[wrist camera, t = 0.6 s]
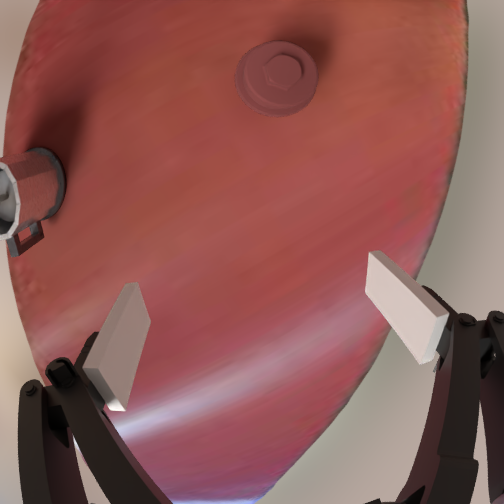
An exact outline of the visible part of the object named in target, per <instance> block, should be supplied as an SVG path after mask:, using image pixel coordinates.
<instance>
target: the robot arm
mask: <svg viewBox="0 0 504 504" xmlns="http://www.w3.org/2000/svg"><path fill="white" fill-rule="evenodd" d="M365 293H366V294H367V296H368V297H369V298H370V299H371V301H372V302H373V303H374V304H375V306H376V307H377V308H378V309H379V311H380V312H381V313H382V315H383V316H384V317H385V318H386V320H387V321H388V322H389V324H390V325H391V326H392V328H393V329H394V330H395V331H396V333H397V334H398V335H399V337H400V338H401V339H402V341H403V342H404V343H405V345H406V346H407V347H408V349H409V350H410V352H411V353H412V354H413V356H414V357H415V359H416V360H417V361H418V363H419V364H420V365H421V364H423V363H426V362H428V361H431V360H432V359H433V357H434V354H435V352H436V351H437V352H438V353H439V355H440V357H439V359H438V361H437V364H436V366H435V368H434V370H433V372H435V371H436V376H435V383H434V388H433V393H432V399H431V404H430V407H429V412H428V416H427V420H426V424H425V428H424V432H423V435H422V439H421V442H420V446H419V449H418V452H417V455H416V458H415V461H414V464H413V467H412V470H411V472H410V475H409V478H408V481H407V483H406V485H405V486H404V488H403V489H402V491H401V492H400V494H399V496H398V497H397V499H396V501H395V502H381V501H380V498H379V499H376V500H373V501H371V502H368V503H365V504H470V502H471V498H472V494H473V491H474V487H475V482H476V477H477V473H478V466H479V464H478V461H477V460H475V459H474V458H473V454H474V448H475V442H476V434H477V426H478V416H479V402H480V403H481V408H482V415H483V421H484V429H485V436H486V447H487V461H488V487H489V497H490V503H491V504H504V313H502V312H500V311H491V312H489V315H488V317H487V319H486V320H482V321H477V320H476V319H475V318H474V317H473V316H471V315H469V314H466V313H460V314H458V313H457V312H456V311H455V310H453V309H452V308H451V307H450V306H449V305H448V304H447V303H446V302H445V301H444V300H442V298H441V297H440V296H438V295H437V294H436V293H435V292H434V291H433V290H432V289H430V288H428V287H426V286H420V285H419V284H418V283H417V282H416V281H415V280H414V279H413V278H412V277H410V276H409V275H408V274H407V273H406V272H405V271H404V270H403V269H401V268H400V267H399V266H398V265H397V264H396V263H395V262H393V261H392V260H391V259H390V258H389V257H388V256H386V255H385V254H384V253H383V252H382V251H380V250H378V251H372V252H369V259H368V270H367V280H366V288H365ZM150 323H151V321H150V318H149V315H148V312H147V309H146V306H145V303H144V300H143V297H142V294H141V291H140V288H139V284H138V282H134V283H126V284H125V285H124V287H123V289H122V291H121V293H120V294H119V296H118V298H117V300H116V302H115V303H114V305H113V307H112V309H111V311H110V313H109V315H108V316H107V318H106V320H105V322H104V324H103V326H102V328H101V330H100V332H94V333H93V334H92V335H91V336H90V337H89V338H88V339H87V340H86V342H85V344H84V347H83V348H82V350H81V353H80V354H79V356H78V358H77V360H76V362H75V364H74V366H73V364H72V363H71V361H70V360H69V359H68V358H65V357H60V358H57V359H55V360H53V361H52V362H50V364H49V365H48V366H47V368H46V370H45V375H46V376H47V377H48V379H49V380H50V382H51V383H52V385H51V386H46V387H43V385H42V384H41V383H40V381H38V380H35V379H34V380H30V381H28V382H26V383H25V384H24V385H23V386H22V388H21V390H20V397H19V412H18V458H19V459H18V460H19V473H20V483H21V491H22V498H23V504H88V501H87V498H86V494H85V491H84V487H83V483H82V479H81V475H80V471H79V466H78V462H77V457H76V452H75V446H74V440H73V435H74V438H75V440H76V442H77V444H78V446H79V448H80V451H81V453H82V455H83V457H84V459H85V461H86V462H87V464H88V466H89V468H90V470H91V472H92V474H93V475H94V477H95V479H96V481H97V482H98V484H99V486H100V487H101V489H102V491H103V492H104V494H105V496H106V497H107V498H108V500H109V502H110V503H111V504H173V503H172V502H171V501H170V500H169V499H168V498H167V497H166V495H165V494H164V493H163V492H162V491H161V490H160V488H159V487H158V486H157V485H156V484H155V483H154V481H153V480H152V479H151V478H150V476H149V475H148V474H147V473H146V471H145V470H144V469H143V467H142V466H141V465H140V463H139V462H138V461H137V459H136V458H135V457H134V455H133V454H132V453H131V451H130V450H129V448H128V447H127V445H126V444H125V442H124V441H123V439H122V438H121V436H120V435H119V433H118V432H117V430H116V429H115V427H114V426H113V424H112V422H111V421H110V419H109V417H108V416H107V414H106V413H105V411H104V410H103V408H104V405H105V403H106V404H107V406H108V407H109V409H110V410H114V411H126V408H127V404H128V400H129V396H130V392H131V388H132V384H133V381H134V377H135V373H136V370H137V366H138V363H139V359H140V356H141V353H142V349H143V346H144V343H145V339H146V336H147V333H148V330H149V326H150ZM494 354H495V356H494ZM436 369H437V370H436ZM72 433H73V434H72Z"/></svg>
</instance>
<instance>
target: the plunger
mask: <svg viewBox="0 0 504 504" xmlns="http://www.w3.org/2000/svg"><path fill="white" fill-rule="evenodd" d="M16 205H17V203H16V198H15V192H14V187H13V183H12V182H11V180H10V178H9V177H8V175H7V173H6V171H5V170H3V171H1V172H0V217H1V218H2V219H3V220H5V221H8V222H11V221H14V220H15V213H16Z"/></svg>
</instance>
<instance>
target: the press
mask: <svg viewBox="0 0 504 504" xmlns="http://www.w3.org/2000/svg"><path fill="white" fill-rule="evenodd" d="M3 170H5V171H6V173H7V175H8V177H9V178H10V180H11V182H12V183H13V187H14V192H15V198H16V203H17V205H16V213H15V220H14V221H11V222H8V221H5V220H3V219H2V218H1V217H0V240H5V239H6V241H7V244H8V248H9V251H10V254H11V257H16V256H20V255H21V254H22V253H24V252H25V251H26V250H28V249H29V248H30V247H32V246H33V245H34V244H36V243H37V242H39V241H40V240H41V239H43V238H44V234H43V230H42V226H41V222H40V221H41V220H45V219H47V218H49V217H51V216H53V215H54V214H55V213H56V212H57V211H58V210H59V208H60V207H61V205H62V203H63V200H64V197H65V192H66V176H65V171H64V168H63V165H62V163H61V161H60V159H59V158H58V156H57V155H56V154H55V153H54V152H53V151H51V150H50V149H47V148H44V147H37V148H32V149H30V150H28V151H26V152H25V153H21V154H16V155H11V156H6V157H2V158H0V172H1V171H3ZM27 227H30V231H31V235H30V236H29V237H27V238H26V239H24V240H23V241H21V242H20V240H19V237H18V233H19V232H20V231H22V230H24V229H25V228H27Z"/></svg>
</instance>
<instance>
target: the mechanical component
mask: <svg viewBox="0 0 504 504" xmlns="http://www.w3.org/2000/svg"><path fill="white" fill-rule="evenodd" d="M317 84H318V69H317V66H316V64H315V61H314V60H313V58H312V57H311V56H310V54H309V53H308V52H307V51H305V50H304V49H303V48H301V47H300V46H298V45H296V44H294V43H291V42H287V41H270V42H266V43H264V44H261V45H259V46H256V47H254V48H252V49H251V50H249V51H248V52H247V53H246V54H245V55H244V56H243V57H242V58H241V60H240V61H239V63H238V66H237V69H236V73H235V85H236V89H237V92H238V94H239V96H240V98H241V99H242V101H243V102H244V103H245V104H246V105H247V106H248V107H249V108H251V109H252V110H254V111H255V112H257V113H260V114H262V115H265V116H270V117H284V116H289V115H292V114H294V113H297V112H299V111H300V110H302V109H303V108H305V107H306V106H307V105H308V104H309V103H310V101H311V100H312V98H313V96H314V94H315V91H316V87H317Z"/></svg>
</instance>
